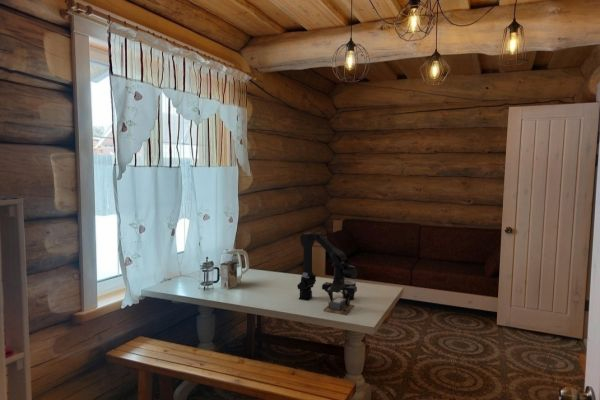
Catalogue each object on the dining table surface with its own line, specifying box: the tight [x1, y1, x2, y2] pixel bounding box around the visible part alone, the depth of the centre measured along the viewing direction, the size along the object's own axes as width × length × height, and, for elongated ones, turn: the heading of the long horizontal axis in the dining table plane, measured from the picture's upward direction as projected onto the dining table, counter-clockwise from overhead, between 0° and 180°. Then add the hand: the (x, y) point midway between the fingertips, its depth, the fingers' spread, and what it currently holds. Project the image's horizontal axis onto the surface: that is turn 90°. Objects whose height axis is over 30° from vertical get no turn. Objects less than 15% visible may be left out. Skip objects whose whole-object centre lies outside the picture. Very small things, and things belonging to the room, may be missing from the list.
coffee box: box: [219, 260, 238, 290], centre depth 264 cm, size 9×6×16 cm
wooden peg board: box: [323, 298, 355, 316], centre depth 225 cm, size 13×14×4 cm
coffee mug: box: [339, 279, 357, 301], centre depth 243 cm, size 12×9×10 cm
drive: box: [329, 296, 348, 311], centre depth 225 cm, size 6×10×4 cm, turn 148°
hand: (339, 302), depth 225 cm, fingers open, 8 cm apart
